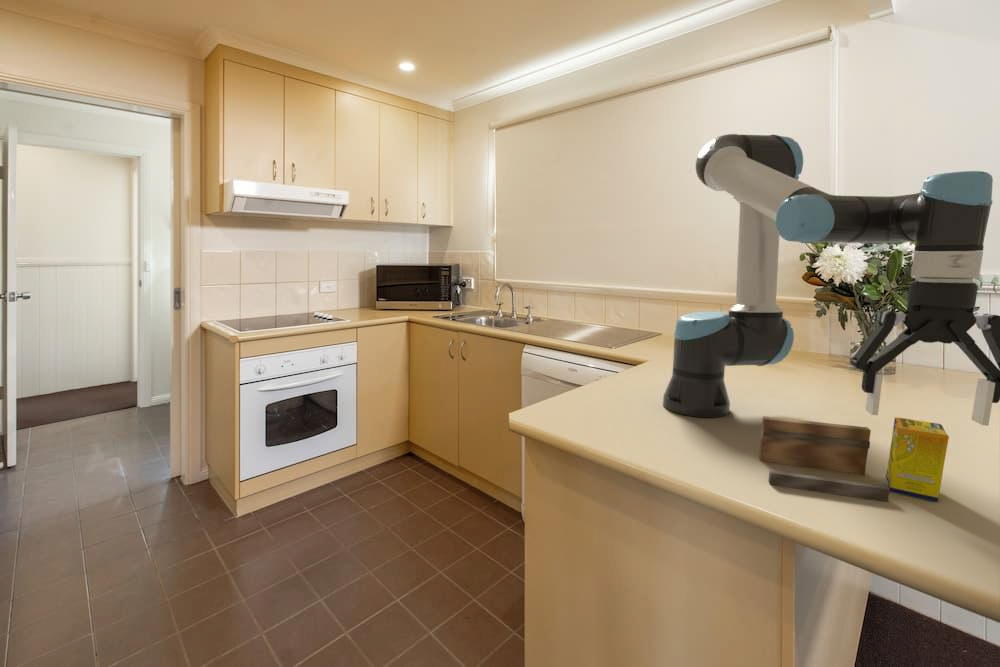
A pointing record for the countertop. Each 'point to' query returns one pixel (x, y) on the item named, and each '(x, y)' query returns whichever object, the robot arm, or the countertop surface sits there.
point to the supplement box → (917, 458)
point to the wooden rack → (818, 455)
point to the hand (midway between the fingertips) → (923, 417)
